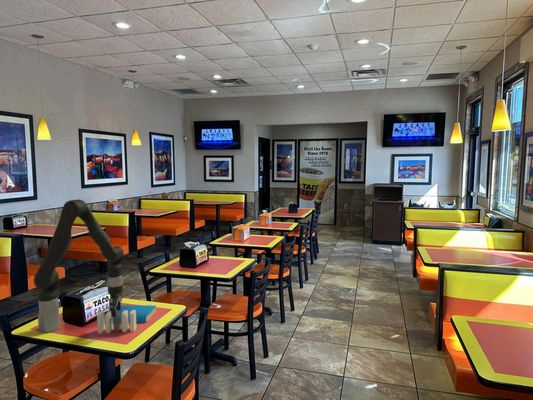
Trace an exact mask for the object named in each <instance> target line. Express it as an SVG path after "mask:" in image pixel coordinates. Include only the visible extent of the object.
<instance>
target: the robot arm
mask: <svg viewBox="0 0 533 400" xmlns="http://www.w3.org/2000/svg"><path fill="white" fill-rule="evenodd" d="M59 216H60V217H59V220H58V223H57V226H56V228H55V231H54V233H53V236H52V237H51V239H50V242H49V244H48V247H47V250H46V252H45V255H44V257H43V260H42V263H41V264H40V266H39V267H38V270H37V271H36V272H35V275H34V278H33V284H34V286H35V288H37V289H39V290H41V291H40V292H39V294H38V299H37V301H38V311H39V312H38V314H37V320H38V321H37V322H38V323H37V324H38V332H40V333H44V334H45V333H52V332H55V331H58V330H59V329H60V327H61V322H60V320H61V319H60V309H59V308H60V305H59V292H60V275H59V272H58V271H57V270H56V267H57V266H58V265H59V263H60V262H61V261H62V259H64V257H65V256H66V253H67V252H68V250H69V249H70V248H69V247H70V246H71V243H72V229H73V228H72V227H73V225H74V222H75V221H76V219H77V218H79V219H80V220H81V221H83V223H84V224H85V226H86V228H87V231H88V234H89V236H90V238H91V239H92V240H93V242H94V243H95V244H96V245H97V246H98V247H99V251H100V252H101V254H102V255H103V258H104V259H105V260H106V261H108V262H110V264H109V265H108V266H107V294H108V295H111V296H110V298H109V299H108V306H109V307H108V311H110V310H111V316H112V317H115V316H116V310H121V305H122V304H121V303H122V301H123V291H124V287H123V286H124V284H123V283H124V282H123V269H122V268H123V263H124V255H125V254H124V250H123V248H122V247H121V246H118V245H115V246H112V244H111V243H112V239H111V237H110V236H109V235H108V234H107V232H105V230H104V228H102V226H101V225H100V223H99V222H98V221H97V219H96V217H95V216H94V214H93V212H92V211H91V209H90V208H89V206H88V205H87V203H86V201H84V200H83V199H72V200H67V201H66V202H65V203H64V205H63V206H62V208H61V213H60V215H59Z"/></svg>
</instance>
